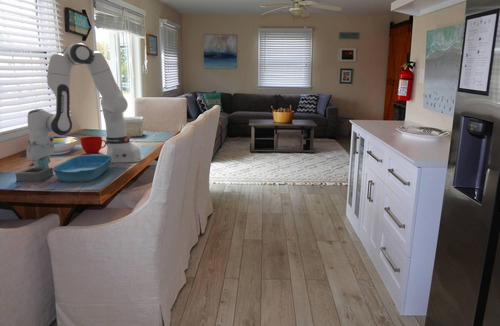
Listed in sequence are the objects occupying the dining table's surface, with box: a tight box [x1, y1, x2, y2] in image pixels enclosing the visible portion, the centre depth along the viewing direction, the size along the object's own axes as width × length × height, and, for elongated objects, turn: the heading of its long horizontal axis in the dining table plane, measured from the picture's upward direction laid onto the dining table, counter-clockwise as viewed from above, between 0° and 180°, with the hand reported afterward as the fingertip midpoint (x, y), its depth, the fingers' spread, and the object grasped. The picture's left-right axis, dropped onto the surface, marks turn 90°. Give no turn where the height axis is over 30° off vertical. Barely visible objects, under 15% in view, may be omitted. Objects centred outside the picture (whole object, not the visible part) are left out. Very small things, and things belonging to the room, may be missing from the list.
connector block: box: [38, 158, 50, 168], centre depth 216 cm, size 4×4×7 cm
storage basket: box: [123, 116, 144, 138], centre depth 327 cm, size 24×16×15 cm
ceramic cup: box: [79, 136, 107, 155], centre depth 260 cm, size 13×17×10 cm
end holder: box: [15, 166, 54, 182], centre depth 203 cm, size 12×12×4 cm
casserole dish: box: [52, 153, 112, 183], centre depth 209 cm, size 37×22×7 cm, turn 1°
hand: (42, 165), depth 216 cm, fingers open, 8 cm apart
